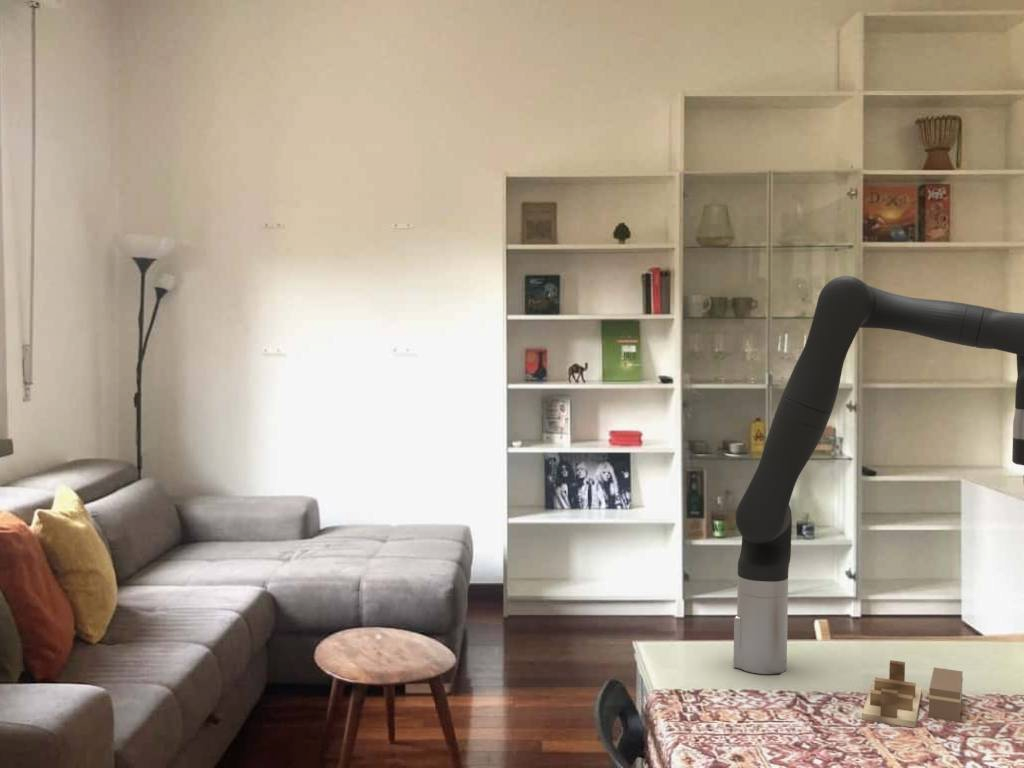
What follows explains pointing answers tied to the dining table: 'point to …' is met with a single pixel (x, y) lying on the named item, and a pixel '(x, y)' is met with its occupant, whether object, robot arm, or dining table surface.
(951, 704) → the brown rectangular box
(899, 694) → the display cradle
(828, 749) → the dining table surface
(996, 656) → the dining table surface
